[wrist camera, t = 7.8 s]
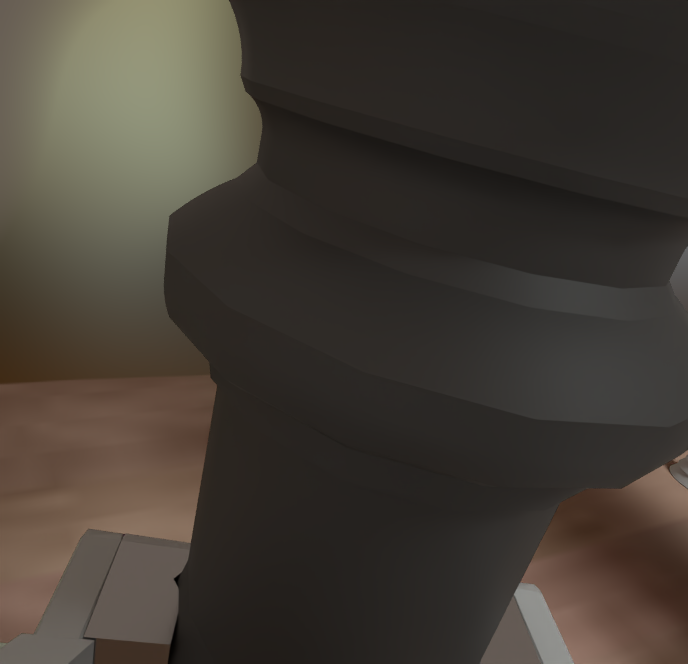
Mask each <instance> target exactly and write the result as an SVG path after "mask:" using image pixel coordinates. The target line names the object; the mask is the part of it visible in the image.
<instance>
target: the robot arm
mask: <svg viewBox="0 0 688 664" xmlns="http://www.w3.org/2000/svg"><path fill="white" fill-rule="evenodd" d="M190 545H191V543H186V542H179V541H172V540H166V539H159V538H152V537H146V536H139V535H132V534H121V533H114V532H108V531H101V530H94V529H88V530H87V531H86V532H85V533H84V535H83V536H82V537H81V538H80V540H79V543H78V545H77V547H76V549H75V551H74V553H73V555H72V557H71V559H70V561H69V563H68V565H67V567H66V569H65V571H64V573H63V575H62V577H61V579H60V581H59V583H58V585H57V587H56V590H55V592H54V594H53V596H52V598H51V600H50V602H49V604H48V606H47V608H46V610H45V612H44V614H43V616H42V618H41V620H40V622H39V624H38V626H37V628H36V630H35V632H34V634H26V633H21V634H19V635H18V636H17V637H15V638H14V639H13V640H11V641H10V642H9V643H7V644H6V645H5V646H3V647H2V648H0V664H168V661H169V656H170V650H171V646H172V641H173V636H174V631H175V626H176V621H177V617H178V602H179V588H178V586H177V585H176V583H177V581H178V579H179V577H180V575H181V573H182V571H183V569H184V567H185V565H186V563H187V561H188V557H189V551H190ZM480 664H574V662H573V660H572V658H571V655H570V653H569V651H568V649H567V647H566V645H565V642H564V640H563V638H562V636H561V634H560V632H559V630H558V627H557V625H556V623H555V621H554V619H553V617H552V614H551V612H550V610H549V608H548V606H547V604H546V601H545V599H544V597H543V595H542V593H541V591H540V590H539V589H538V588H537V587H536V586H535V585H534V584H527V583H519V585H518V587H517V589H516V591H515V593H514V595H513V597H512V599H511V601H510V603H509V605H508V607H507V609H506V611H505V613H504V615H503V617H502V619H501V621H500V623H499V625H498V627H497V629H496V631H495V633H494V635H493V637H492V639H491V641H490V643H489V645H488V647H487V649H486V651H485V653H484V655H483V657H482V659H481V663H480Z"/></svg>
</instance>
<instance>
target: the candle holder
mask: <svg viewBox="0 0 688 664" xmlns="http://www.w3.org/2000/svg"><path fill="white" fill-rule="evenodd" d="M229 1H230V3H231V6H232V9H233V11H234V14H235V17H236V20H237V24H238V28H239V33H240V38H241V48H242V67H241V78H242V81H243V84H244V88H245V91H246V92H247V93H248V94H249V95H250V96H251V97H252V98H253V99H254V101H255V102H256V104H257V106H258V107H259V110H260V113H261V117H262V125H263V126H262V127H263V128H262V135H261V141H260V148H259V153H258V159H257V163H256V164H254V165H253V166H252V167H250V168H249V169H248V170H246V171H245V172H244V173H242V174H241V175H240V176H239V177H237V178H235V179H232V180H230V181H228V182H225V183H223V184H221V185H218V186H216V187H214V188H212V189H210V190H208V191H206V192H205V193H203V194H201V195H199V196H198V197H196V198H194V199H193V200H191V201H190V202H188V203H186V204H185V205H184V206H182V207H181V208H179V209H178V210H176V211H175V212H174V213H172V214H171V215H170V216H169V226H168V234H167V246H166V247H167V248H166V261H165V277H164V295H165V302H166V307H167V311H168V314H169V317H170V318H171V319H172V320H173V322H174V323H175V324H176V325H177V326H178V327H179V328H180V329H181V331H182V332H183V333H184V334H185V335H186V336H187V337H188V338H189V340H190V341H191V342H192V343H193V344H194V345H195V346H196V348H197V349H198V350H199V351H200V352H201V353H202V354H203V355H204V357H205V358H206V359H207V360H208V361H209V363H210V374H211V378H212V380H213V381H214V382H215V383H216V384H217V391H216V397H215V403H214V409H213V415H212V421H211V427H210V433H209V439H208V445H207V451H206V457H205V462H204V468H203V474H202V480H201V486H200V492H199V498H198V504H197V510H196V516H195V522H194V528H193V534H192V540H191V545H190V551H189V557H188V561H187V563H186V565H185V567H184V569H183V571H182V573H181V575H180V577H179V579H178V581H177V583H176V585H177V586H178V588H179V602H178V617H177V621H176V626H175V631H174V636H173V641H172V646H171V650H170V656H169V661H168V664H480V663H481V659H482V657H483V655H484V653H485V651H486V649H487V647H488V645H489V643H490V641H491V639H492V637H493V635H494V633H495V631H496V629H497V627H498V625H499V623H500V621H501V619H502V617H503V615H504V613H505V611H506V609H507V607H508V605H509V603H510V601H511V599H512V597H513V595H514V593H515V591H516V589H517V587H518V585H519V583H520V581H521V579H522V577H523V575H524V573H525V571H526V569H527V567H528V565H529V563H530V561H531V559H532V557H533V555H534V553H535V551H536V549H537V547H538V545H539V543H540V541H541V539H542V537H543V536H544V534H545V532H546V530H547V528H548V526H549V524H550V522H551V520H552V518H553V516H554V514H555V512H556V510H557V508H558V506H559V504H560V502H562V501H564V500H566V499H568V498H570V497H572V496H574V495H576V494H577V493H579V492H581V491H583V490H585V489H587V488H614V489H621V488H623V487H625V486H627V485H629V484H630V483H632V482H634V481H636V480H637V479H639V478H641V477H643V476H645V475H646V474H648V473H650V472H652V471H653V470H655V469H657V468H659V467H660V466H662V465H664V464H666V463H668V462H669V461H671V460H673V459H675V458H676V457H678V456H680V455H681V454H683V453H684V452H685V451H687V450H688V312H687V311H686V309H685V308H684V306H683V305H682V304H681V302H680V301H679V300H678V298H677V297H676V296H675V295H674V292H673V289H672V286H671V284H670V281H669V280H670V278H671V276H672V274H673V272H674V270H675V267H676V266H677V264H678V262H679V259H680V258H681V256H682V254H683V252H684V250H685V249H686V247H687V246H688V0H229Z"/></svg>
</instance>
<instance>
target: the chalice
mask: <svg viewBox="0 0 688 664" xmlns="http://www.w3.org/2000/svg"><path fill="white" fill-rule="evenodd" d="M669 469H670V472H671V474H672V475H673V476H674V478H675V479H676V480H677V481H679V482H680V483H681V484H682V485H684V486H685V487H686V488H688V455H687V456H686V458H683V459H681V460H679V462H678V463H676V464H673V465H671V466H670V468H669Z"/></svg>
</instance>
